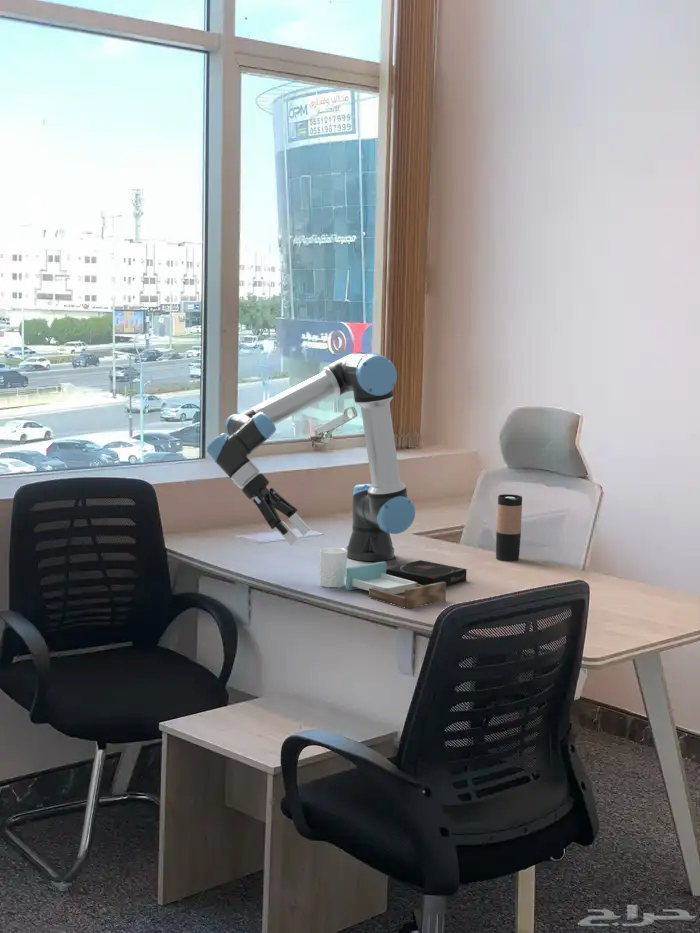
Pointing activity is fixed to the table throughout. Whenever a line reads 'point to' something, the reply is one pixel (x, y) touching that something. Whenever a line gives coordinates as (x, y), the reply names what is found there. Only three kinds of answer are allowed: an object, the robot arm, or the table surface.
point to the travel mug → (508, 527)
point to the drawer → (413, 595)
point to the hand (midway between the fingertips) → (301, 537)
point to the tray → (376, 579)
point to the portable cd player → (428, 573)
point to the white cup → (332, 566)
